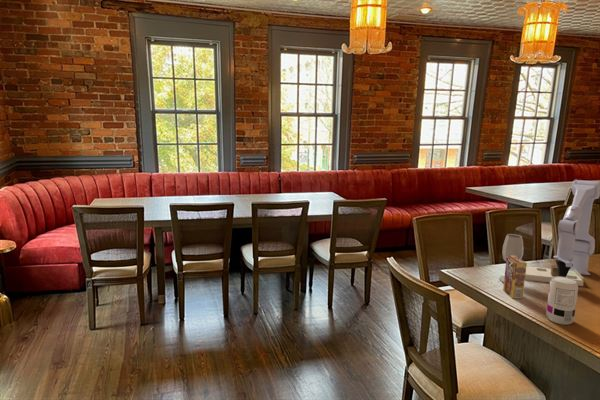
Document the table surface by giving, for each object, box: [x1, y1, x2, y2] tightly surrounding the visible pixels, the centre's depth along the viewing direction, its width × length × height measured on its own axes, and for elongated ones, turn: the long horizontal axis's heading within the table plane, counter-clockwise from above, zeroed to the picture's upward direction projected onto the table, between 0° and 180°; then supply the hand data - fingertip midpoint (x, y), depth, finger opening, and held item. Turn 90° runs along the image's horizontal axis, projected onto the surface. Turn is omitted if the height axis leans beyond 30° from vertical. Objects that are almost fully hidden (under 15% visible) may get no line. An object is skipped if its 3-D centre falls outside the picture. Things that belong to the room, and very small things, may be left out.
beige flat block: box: [525, 266, 585, 287], centre depth 178 cm, size 12×23×4 cm, turn 70°
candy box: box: [502, 256, 528, 300], centre depth 160 cm, size 9×4×15 cm, turn 176°
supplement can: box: [545, 276, 579, 326], centre depth 138 cm, size 8×8×15 cm
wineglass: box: [498, 233, 525, 284], centre depth 173 cm, size 9×9×21 cm
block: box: [550, 264, 559, 277], centre depth 175 cm, size 4×4×4 cm
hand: (562, 277), depth 170 cm, fingers closed
